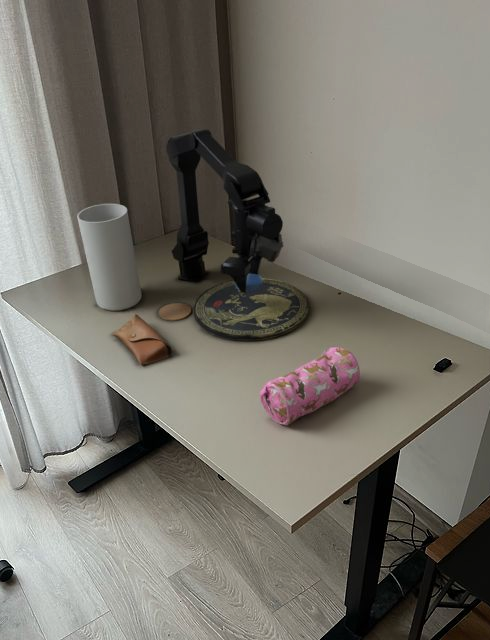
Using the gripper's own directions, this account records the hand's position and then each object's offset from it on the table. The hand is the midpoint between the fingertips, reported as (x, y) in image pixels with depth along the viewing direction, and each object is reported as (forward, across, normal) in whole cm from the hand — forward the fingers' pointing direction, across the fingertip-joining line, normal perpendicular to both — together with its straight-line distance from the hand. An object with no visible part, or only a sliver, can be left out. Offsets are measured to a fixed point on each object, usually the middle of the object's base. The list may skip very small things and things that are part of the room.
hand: (248, 285), depth 151 cm
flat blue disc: (+1, 0, 0) cm, 1 cm away
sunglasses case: (+8, -22, +20) cm, 31 cm away
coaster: (+8, -6, +19) cm, 21 cm away
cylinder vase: (+8, -5, +37) cm, 38 cm away
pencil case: (+8, -30, -26) cm, 40 cm away
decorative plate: (+8, +1, 0) cm, 8 cm away
